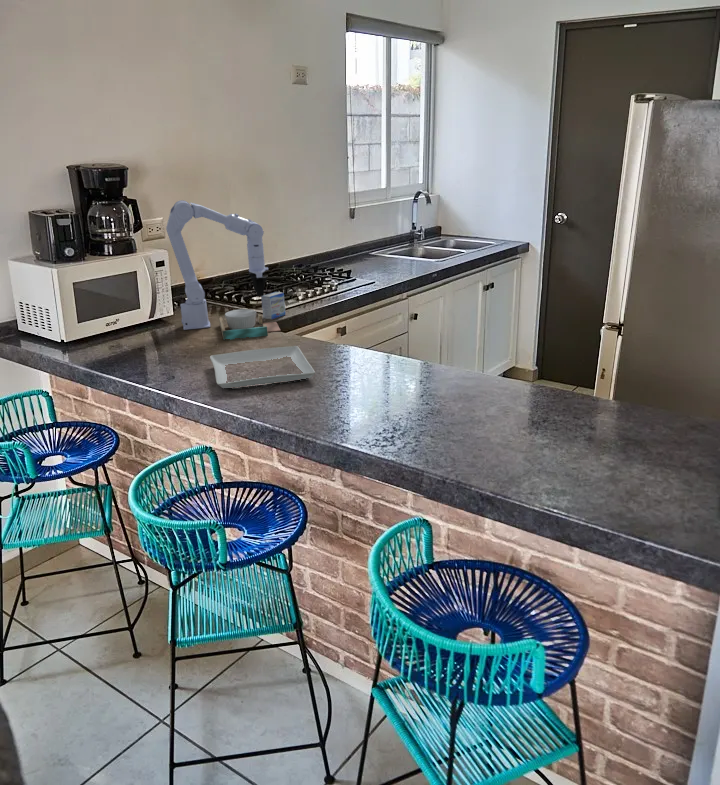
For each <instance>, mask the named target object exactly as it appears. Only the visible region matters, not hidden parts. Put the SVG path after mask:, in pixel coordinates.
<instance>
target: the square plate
mask: <svg viewBox="0 0 720 785" xmlns="http://www.w3.org/2000/svg"><path fill="white" fill-rule="evenodd" d="M286 356H287V357H291V359H292V361H293V362H294V363H295V364H296V366H297V367H298V368H299V369H300V370H301V371H302V372H303V373H301V374H287V375H276V376H267V377H259V378H252V379H246V380H240V381H234V382H228V383H226V381H227V374H226V370H225V367H226V366H225V365H228V364H237V363H245V362H253V361H266V360H271V359H272V360H273V359H277V358H278V359H280V358H283V357H286ZM209 360H210V362H211V364H212V366H213V370H214V376H215V381H216V384H217V385H218V386H219V387H221V389H224V388H231V387H240V386H247V385H255V384H265V383H274V382H281V381H290V380H298V379H306V378H309V379H311V378H312V377H313V376H315V374H316V371H315V370H314V368H313V366H312V364H310V363H309V361H308V360H307V358H306V356H305V355H304V353H303V351H302V349H301V348H300V347H299V346H298V345H290V346H289V345H288V346H277V347H267V348H256V349H249V350H241V351H235V352H234V351H233V352H226V353H220V354H212V355H210V356H209ZM306 380H307V379H306Z"/></svg>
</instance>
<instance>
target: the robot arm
mask: <svg viewBox="0 0 720 785" xmlns="http://www.w3.org/2000/svg"><path fill="white" fill-rule="evenodd" d="M168 215H169V216H168V219H167V224H166V226H165V227H166V228H165V229H166V233H167V236H168V239H169V241H170V244H171V246H172V249H173V253H174V256H175V258H176V261H177V264H178V267H179V271H180V273H181V275H182V279H183V282H184V285H185V286H184V292H185V295H186V300H185V302H184V303H180V314H181V324H182V327H183V331H186V330H198V329H205V328H206V329H207V328H211V322H210V320H209V313H208V306H207V304H208V303H207V299H206V292H205V290H204V289H203V286H202V284H201V283H200V282H199V281H198V278H197V275H196V273H195V270H194V267H193V263H192V261H191V258H190V255H189V253H188V249H187V246H186V244H185V241H184V237H183V234H182V230H183V229H184V227H185V226H186V224H187V223H188V222H190V221H191V219H193V218H194V219H199V218H205V219H207V220H210V221H213V222H216V223H219V224H221V225H224V226H225V229H226V230H228V231H229V232H233V233H236V234H238V235H241V236H246V242H247V243H246V247H247V248H246V249H247V262H248V275H249V277H250V279H251V281H252V285H253V289H254V292H255V293H256V295H257V297H261V296H264V295H265V294H264V293H265V284H266V281H267V279H268V276H264V275H265V271H269V267H268V266H267V267H266V264H265V263H266V262H265V253H264V251H265V250H264V242H263V236H264V234H265V233H264V232H265V231H264V230H263V227H262V226H261V225H260V224H259V223H257V222H256V221H253V220H252V219H250V218H248V219H247V218H244V217H241V216H240V215H239V214H238V213H230V214H228V215H226V214H223V213H221V212H218V211H216V210H214V209H212V208H209V207H206V206H204V205H201V204H198V203H194V202H188V201H186V200H183V199H182V200H180V199H179V200H177V201H176V202H175V203H174V204H173V206H172V207H171V209H170V210H169V214H168Z"/></svg>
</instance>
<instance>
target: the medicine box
mask: <svg viewBox="0 0 720 785" xmlns="http://www.w3.org/2000/svg"><path fill="white" fill-rule="evenodd" d="M260 299H261V309H262V310H261V311H262V319H266V320H274V319H277V318H281V317H283V316H285V315H286V305H285V294H284V292H282V291H280V292H279V291H274V292H271V293H267V294H263V296H260Z"/></svg>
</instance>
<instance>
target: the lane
mask: <svg viewBox="0 0 720 785" xmlns="http://www.w3.org/2000/svg"><path fill="white" fill-rule="evenodd" d="M257 318H258V324H259V325H262V326H257V327H255V326H254V327H253V328H246V329H236V330H232V329H228V330H226V327H225V323H224V319H223V317H222V316H221V317H219V326H220V330H221V335H222V338H223V341H226V340H225V339H230V340H236V339H235V338H240V339H247V338H246V337H249V338H258V337H266V336H269V334H268V333H273V332H282V331H281V328H280V327H279V324H278V323H277V321H272V322H263V314H261V313H257Z"/></svg>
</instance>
